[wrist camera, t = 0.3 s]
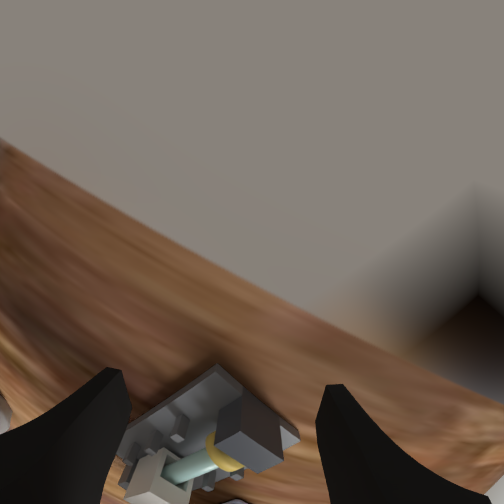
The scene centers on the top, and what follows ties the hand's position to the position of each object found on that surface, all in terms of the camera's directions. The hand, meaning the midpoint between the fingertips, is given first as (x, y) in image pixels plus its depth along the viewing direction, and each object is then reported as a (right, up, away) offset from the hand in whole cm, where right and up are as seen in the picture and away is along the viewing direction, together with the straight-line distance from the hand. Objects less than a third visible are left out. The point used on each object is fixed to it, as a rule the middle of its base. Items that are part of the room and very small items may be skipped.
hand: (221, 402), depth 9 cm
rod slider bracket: (-4, -12, +13) cm, 18 cm away
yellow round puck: (-1, -9, +11) cm, 14 cm away
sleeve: (-7, -14, +12) cm, 20 cm away
